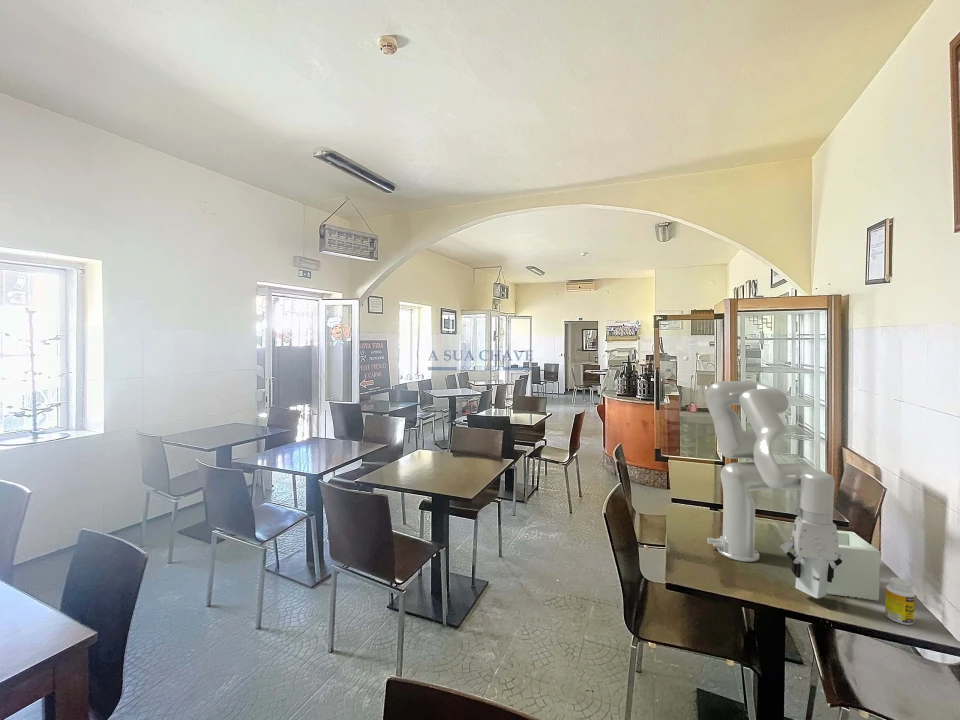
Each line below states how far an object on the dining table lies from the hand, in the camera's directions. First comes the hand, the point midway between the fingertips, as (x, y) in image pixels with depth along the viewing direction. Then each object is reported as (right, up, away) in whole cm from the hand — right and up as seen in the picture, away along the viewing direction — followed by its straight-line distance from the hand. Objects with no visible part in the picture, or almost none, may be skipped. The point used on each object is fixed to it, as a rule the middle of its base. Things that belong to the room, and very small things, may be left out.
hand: (811, 577), depth 124 cm
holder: (+14, -6, +9) cm, 18 cm away
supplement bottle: (+17, -7, -9) cm, 20 cm away
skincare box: (0, -5, 0) cm, 5 cm away
